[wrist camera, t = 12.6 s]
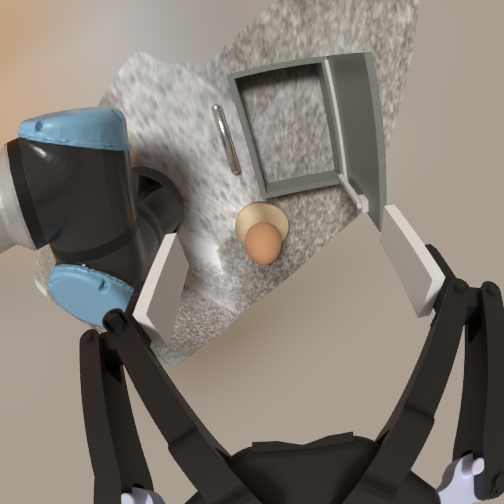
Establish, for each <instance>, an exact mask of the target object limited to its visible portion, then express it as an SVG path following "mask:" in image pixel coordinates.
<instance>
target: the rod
mask: <svg viewBox="0 0 504 504" xmlns="http://www.w3.org/2000/svg"><path fill="white" fill-rule="evenodd" d="M212 113H213V116H214V119H215V122H216V125H217V128H218V131H219V135H220V138H221V141H222V144H223V147H224V150H225V153H226V157H227V160H228V163H229V166H230V169H231V172H232V173H233V174H238V173H239V172H240V167H239V164H238V160H237V157H236V154H235V151H234V147H233V144H232V141H231V137H230V134H229V131H228V128H227V124H226V121H225V118H224V115H223V112H222V108H221V106H220V105H219V104H215V105H213V106H212Z"/></svg>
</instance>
